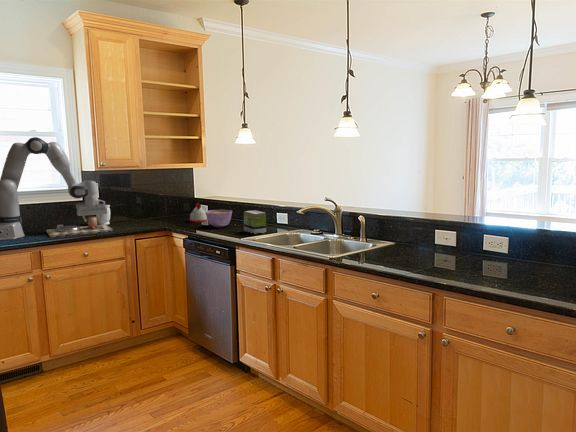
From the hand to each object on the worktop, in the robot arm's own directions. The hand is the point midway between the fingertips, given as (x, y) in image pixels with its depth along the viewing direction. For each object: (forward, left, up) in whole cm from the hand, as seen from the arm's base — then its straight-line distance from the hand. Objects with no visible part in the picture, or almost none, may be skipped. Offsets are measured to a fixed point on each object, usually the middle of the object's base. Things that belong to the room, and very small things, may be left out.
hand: (92, 221), depth 317 cm
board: (-9, 0, -7) cm, 11 cm away
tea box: (+94, -72, -7) cm, 119 cm away
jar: (+12, +25, -7) cm, 29 cm away
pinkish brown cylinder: (0, -1, -5) cm, 5 cm away
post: (-16, +1, -5) cm, 17 cm away
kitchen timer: (+80, -2, -7) cm, 80 cm away
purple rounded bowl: (+83, -36, -7) cm, 91 cm away
